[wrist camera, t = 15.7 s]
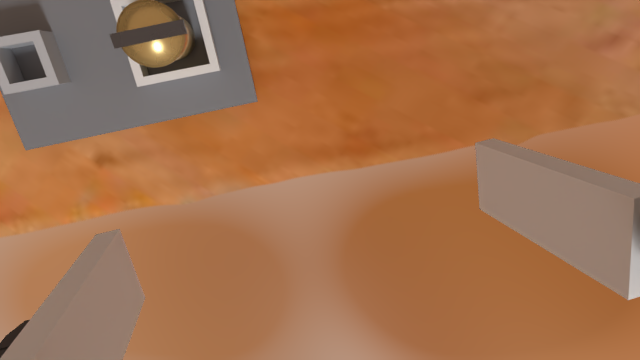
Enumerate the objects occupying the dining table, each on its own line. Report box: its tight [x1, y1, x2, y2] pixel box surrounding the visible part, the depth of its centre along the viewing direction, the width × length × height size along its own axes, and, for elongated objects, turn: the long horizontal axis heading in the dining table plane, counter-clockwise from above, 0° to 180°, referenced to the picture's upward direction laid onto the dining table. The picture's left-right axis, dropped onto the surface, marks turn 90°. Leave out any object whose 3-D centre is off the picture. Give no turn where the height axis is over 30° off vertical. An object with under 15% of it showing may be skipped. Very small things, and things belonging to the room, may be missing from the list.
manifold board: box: [0, 0, 257, 150], centre depth 41 cm, size 24×16×5 cm, turn 101°
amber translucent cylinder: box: [109, 0, 195, 67], centre depth 36 cm, size 5×5×13 cm
